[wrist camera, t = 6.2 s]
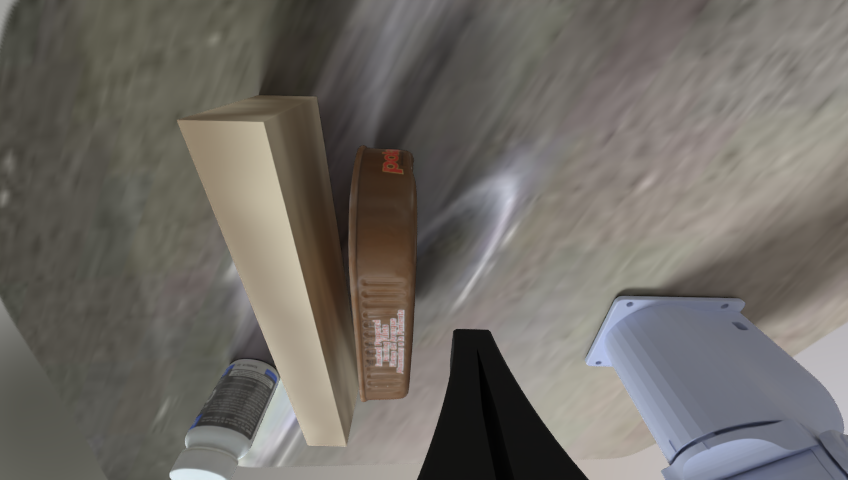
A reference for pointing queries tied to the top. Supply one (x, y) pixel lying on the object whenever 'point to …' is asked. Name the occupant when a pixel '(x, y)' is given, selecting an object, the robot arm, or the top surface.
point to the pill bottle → (227, 422)
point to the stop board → (284, 247)
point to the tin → (383, 269)
